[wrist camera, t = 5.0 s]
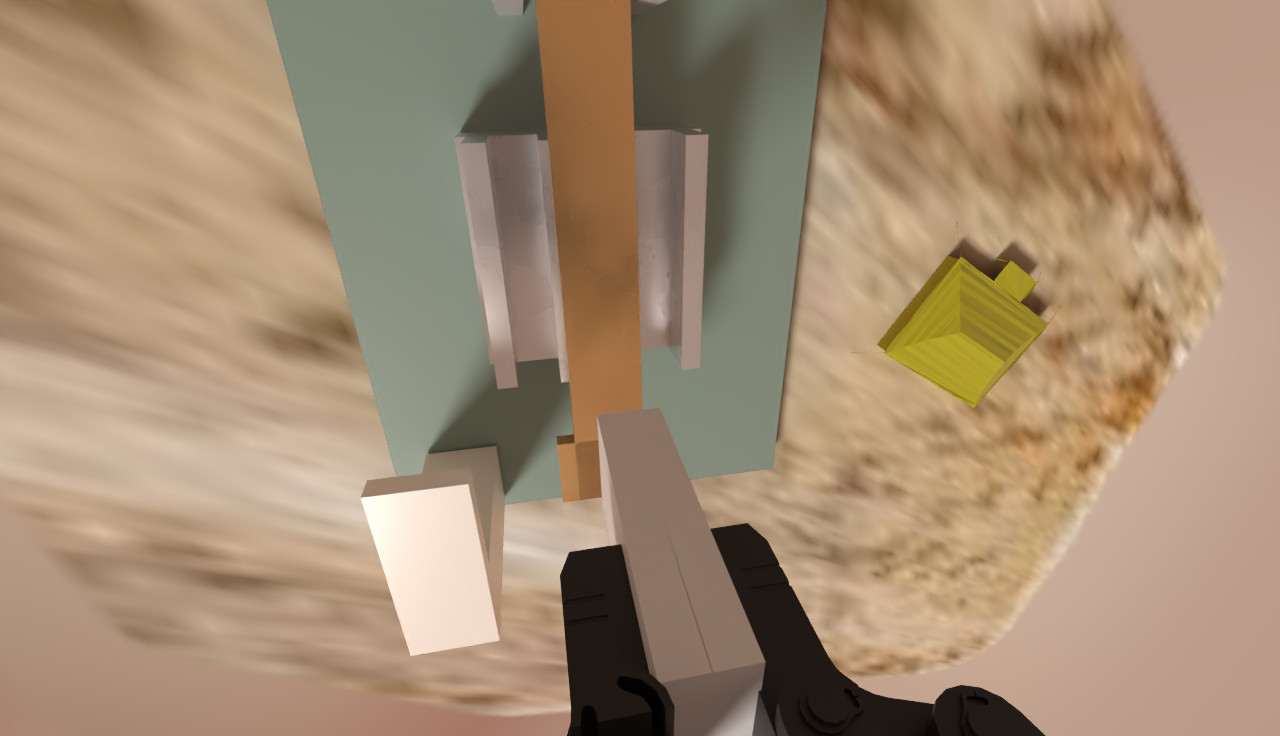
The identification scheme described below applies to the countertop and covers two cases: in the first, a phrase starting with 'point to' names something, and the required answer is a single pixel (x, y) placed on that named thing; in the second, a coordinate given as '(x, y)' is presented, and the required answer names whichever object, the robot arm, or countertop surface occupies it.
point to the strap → (593, 218)
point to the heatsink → (527, 249)
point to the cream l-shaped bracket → (442, 547)
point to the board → (513, 100)
